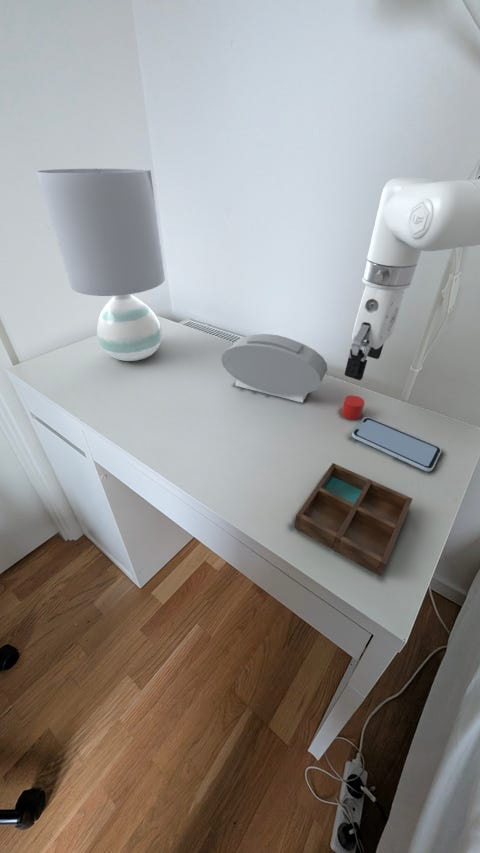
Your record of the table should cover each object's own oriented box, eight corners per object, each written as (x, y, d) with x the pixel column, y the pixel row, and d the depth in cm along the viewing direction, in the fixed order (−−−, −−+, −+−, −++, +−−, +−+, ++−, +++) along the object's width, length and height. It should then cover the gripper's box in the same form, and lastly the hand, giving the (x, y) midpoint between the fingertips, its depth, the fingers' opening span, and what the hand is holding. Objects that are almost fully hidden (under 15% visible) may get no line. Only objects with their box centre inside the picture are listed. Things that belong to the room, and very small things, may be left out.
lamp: (89, 377, 83) (22, 173, 58) (97, 340, 100) (48, 168, 74) (177, 368, 87) (151, 172, 61) (171, 333, 103) (149, 167, 78)
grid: (406, 511, 53) (412, 498, 51) (379, 576, 45) (386, 564, 43) (329, 475, 59) (332, 462, 57) (293, 527, 50) (296, 514, 48)
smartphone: (431, 471, 58) (350, 434, 65) (429, 474, 59) (349, 437, 66) (442, 448, 63) (366, 415, 70) (440, 451, 63) (364, 419, 70)
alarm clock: (323, 393, 78) (332, 342, 70) (316, 407, 74) (325, 354, 66) (233, 372, 86) (232, 323, 78) (221, 383, 81) (220, 333, 73)
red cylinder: (363, 412, 72) (367, 399, 70) (356, 422, 70) (360, 408, 68) (345, 406, 74) (349, 393, 72) (338, 415, 72) (341, 401, 70)
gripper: (396, 292, 47) (365, 393, 58) (425, 265, 58) (395, 354, 69) (345, 282, 50) (325, 379, 61) (382, 258, 61) (359, 344, 72)
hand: (362, 366), depth 65 cm, fingers open, 9 cm apart
